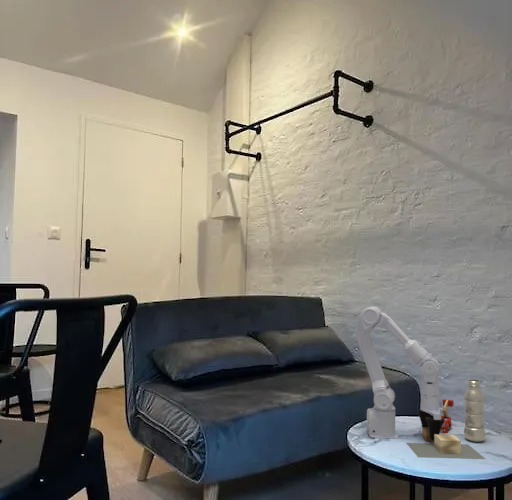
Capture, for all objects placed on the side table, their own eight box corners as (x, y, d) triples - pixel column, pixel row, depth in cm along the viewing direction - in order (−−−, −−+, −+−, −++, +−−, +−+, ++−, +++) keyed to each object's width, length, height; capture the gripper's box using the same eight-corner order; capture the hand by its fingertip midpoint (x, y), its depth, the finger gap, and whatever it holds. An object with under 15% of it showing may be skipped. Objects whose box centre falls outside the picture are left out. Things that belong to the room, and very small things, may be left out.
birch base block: (441, 453, 148) (440, 440, 148) (434, 447, 154) (434, 434, 154) (460, 454, 148) (460, 440, 148) (453, 447, 154) (453, 434, 154)
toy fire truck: (436, 433, 170) (436, 405, 170) (444, 423, 181) (444, 397, 182) (446, 434, 168) (446, 406, 169) (454, 425, 180) (453, 398, 180)
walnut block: (426, 443, 159) (426, 430, 159) (422, 439, 163) (422, 427, 163) (438, 443, 159) (438, 431, 159) (434, 439, 163) (434, 427, 163)
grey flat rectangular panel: (418, 458, 145) (418, 457, 145) (406, 443, 158) (406, 442, 158) (485, 460, 144) (485, 459, 144) (468, 445, 157) (468, 444, 157)
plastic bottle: (488, 441, 162) (487, 380, 163) (481, 445, 157) (480, 383, 158) (468, 436, 166) (468, 377, 167) (460, 441, 161) (460, 380, 163)
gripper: (450, 400, 155) (450, 443, 154) (434, 389, 169) (435, 429, 168) (427, 399, 155) (428, 442, 154) (414, 389, 169) (414, 429, 168)
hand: (430, 436), depth 161 cm, fingers open, 7 cm apart
